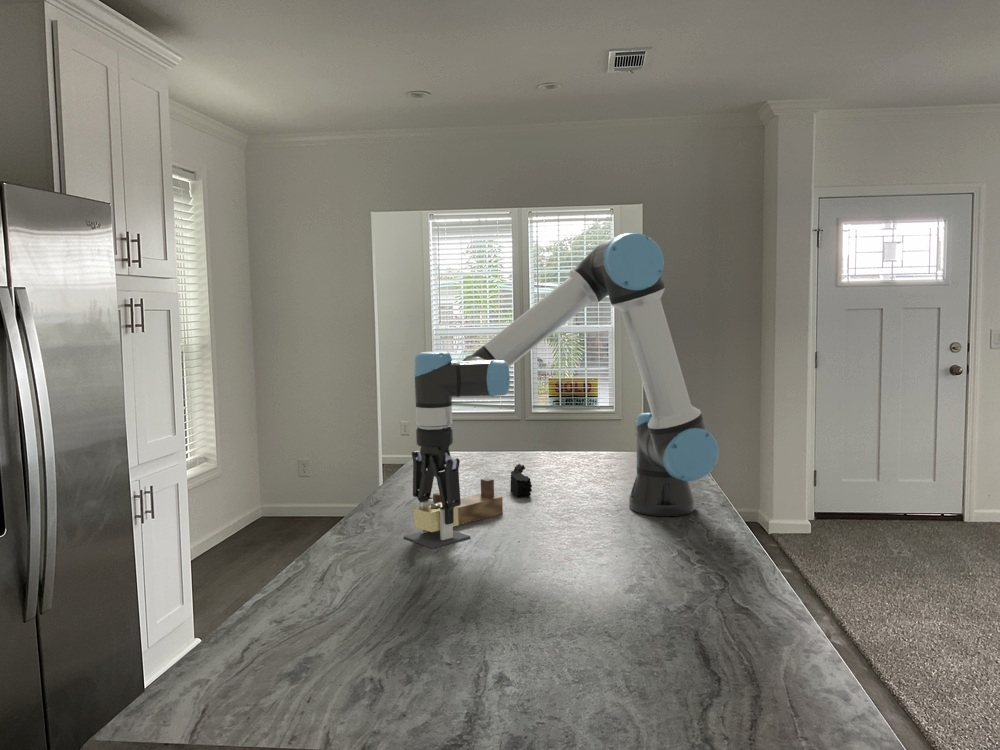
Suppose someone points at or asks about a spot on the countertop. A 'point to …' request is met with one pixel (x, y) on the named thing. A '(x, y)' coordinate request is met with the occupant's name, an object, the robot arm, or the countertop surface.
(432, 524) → the yellow block with knob
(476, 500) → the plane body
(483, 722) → the countertop surface
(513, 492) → the toy
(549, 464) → the countertop surface
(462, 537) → the mat
